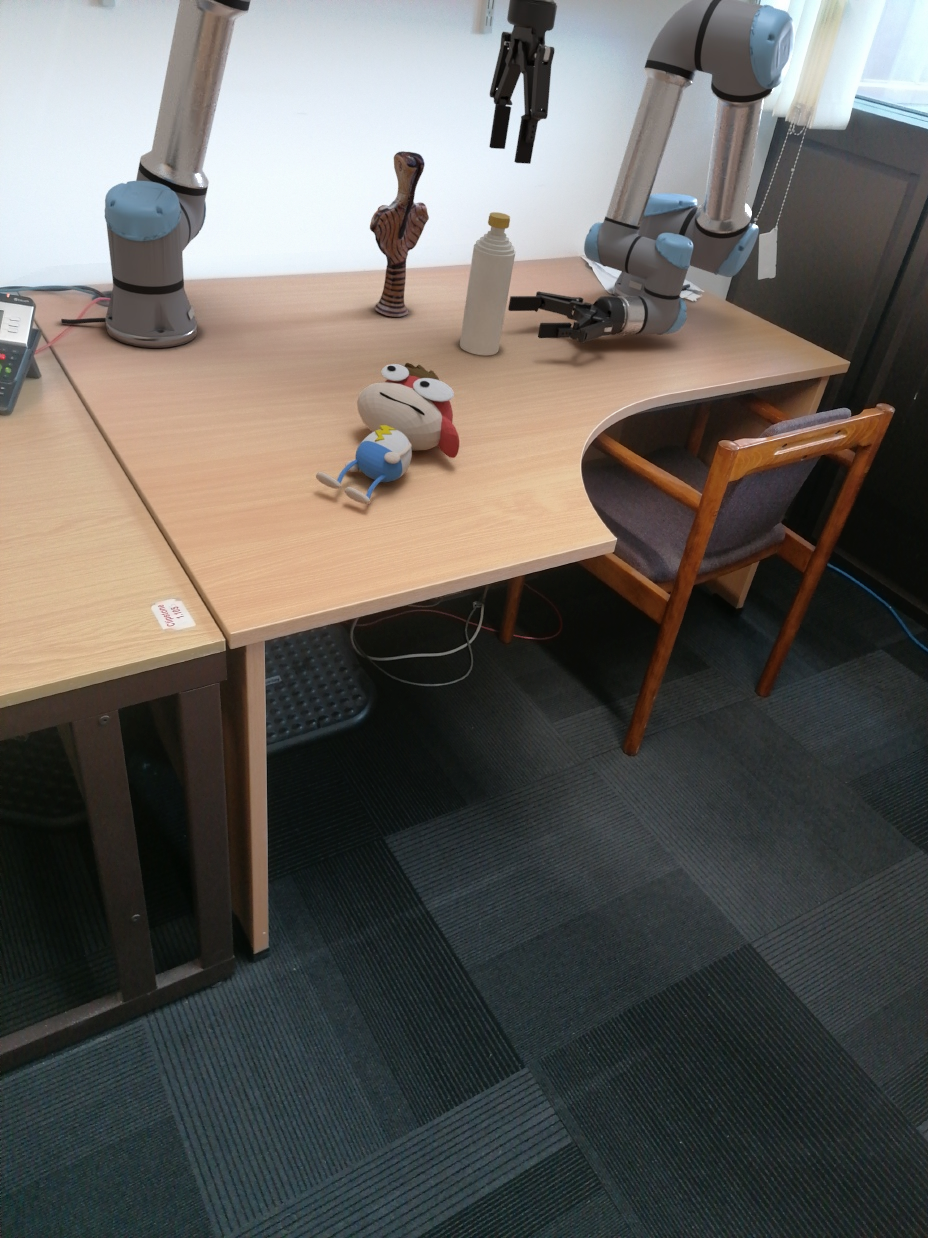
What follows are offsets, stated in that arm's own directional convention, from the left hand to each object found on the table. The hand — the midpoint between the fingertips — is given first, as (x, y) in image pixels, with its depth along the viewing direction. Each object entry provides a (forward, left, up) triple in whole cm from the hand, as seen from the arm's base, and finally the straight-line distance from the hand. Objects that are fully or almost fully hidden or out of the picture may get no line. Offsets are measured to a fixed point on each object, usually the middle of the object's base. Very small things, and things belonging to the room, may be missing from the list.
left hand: (509, 154), depth 153 cm
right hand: (+7, +5, -28) cm, 30 cm away
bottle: (0, 0, -34) cm, 34 cm away
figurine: (-21, +7, -34) cm, 41 cm away
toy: (0, -51, -34) cm, 62 cm away
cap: (0, 0, -10) cm, 10 cm away
